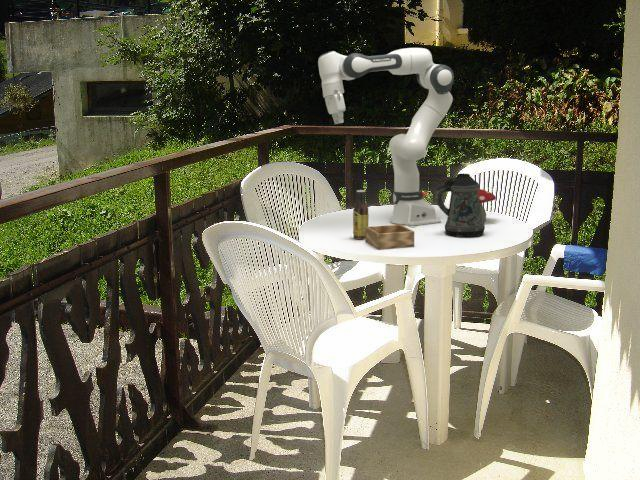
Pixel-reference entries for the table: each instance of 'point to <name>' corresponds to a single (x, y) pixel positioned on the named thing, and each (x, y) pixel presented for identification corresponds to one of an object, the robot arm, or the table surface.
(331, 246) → the table surface
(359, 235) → the sauce bottle
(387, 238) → the crate
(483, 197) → the decorative mushroom
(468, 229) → the beer stein
